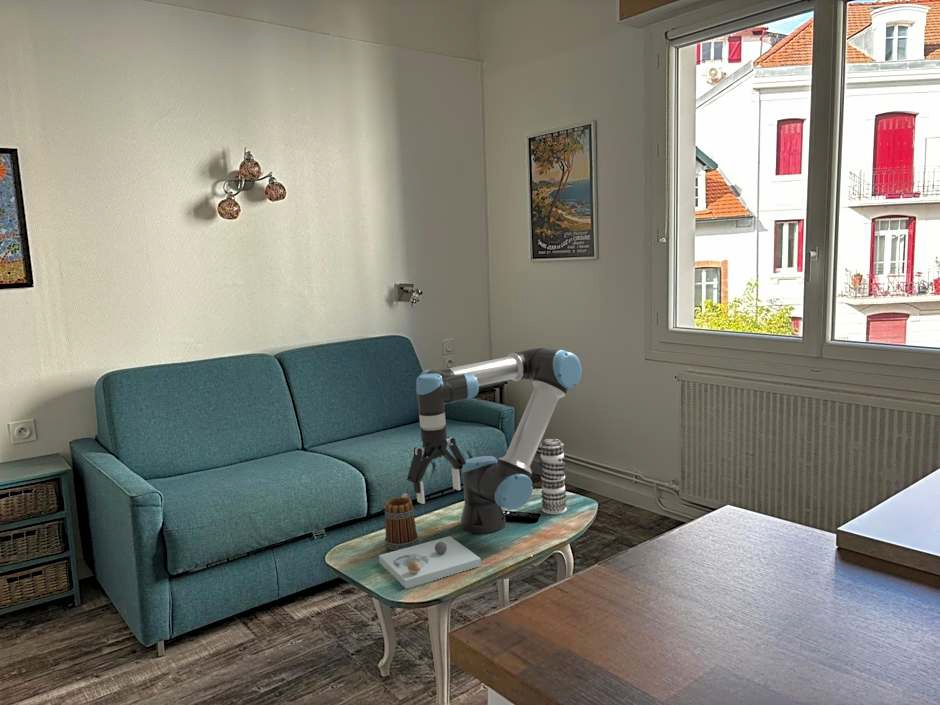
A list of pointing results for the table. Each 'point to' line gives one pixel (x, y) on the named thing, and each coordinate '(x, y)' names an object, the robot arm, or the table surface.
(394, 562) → the white slab
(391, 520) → the mug
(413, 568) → the cork ball
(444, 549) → the ball
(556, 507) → the decorative candle
